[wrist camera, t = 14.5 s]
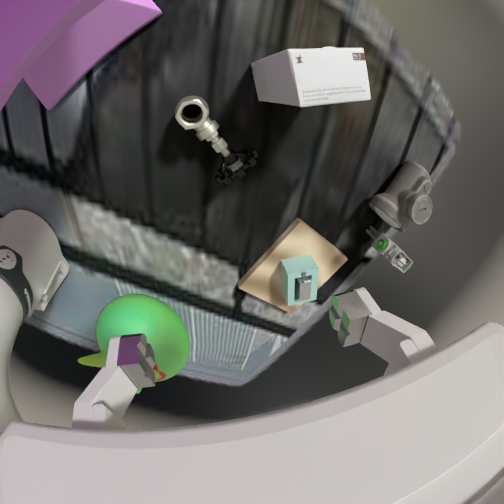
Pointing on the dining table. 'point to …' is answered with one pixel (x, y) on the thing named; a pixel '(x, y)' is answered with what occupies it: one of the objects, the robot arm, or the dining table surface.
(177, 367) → the toy bird
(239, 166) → the valve
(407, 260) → the mechanical component
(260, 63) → the skincare box
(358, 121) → the dining table surface
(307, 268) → the teal collar
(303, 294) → the steel key shaft
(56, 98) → the chair
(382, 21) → the dining table surface
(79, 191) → the dining table surface
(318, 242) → the oak plate
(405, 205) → the pipe fitting
